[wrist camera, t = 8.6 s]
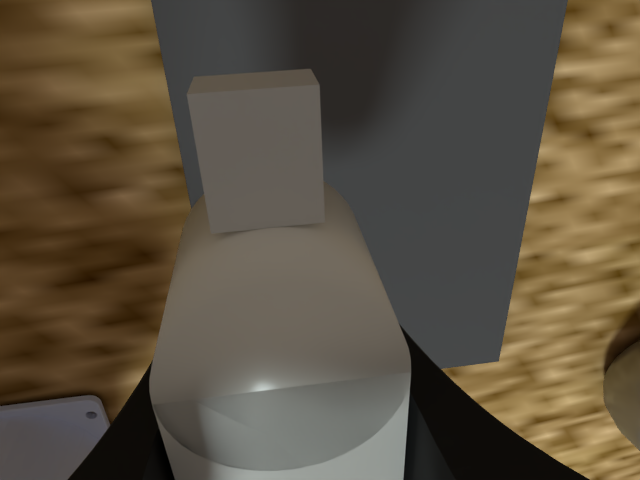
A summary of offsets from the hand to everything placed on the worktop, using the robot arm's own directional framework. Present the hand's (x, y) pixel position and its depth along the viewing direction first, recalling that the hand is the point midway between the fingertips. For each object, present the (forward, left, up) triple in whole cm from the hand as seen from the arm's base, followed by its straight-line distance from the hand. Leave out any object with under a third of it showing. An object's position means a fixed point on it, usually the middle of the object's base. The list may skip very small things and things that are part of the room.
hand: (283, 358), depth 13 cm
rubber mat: (-1, -4, -9) cm, 10 cm away
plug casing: (+1, 0, -1) cm, 2 cm away
